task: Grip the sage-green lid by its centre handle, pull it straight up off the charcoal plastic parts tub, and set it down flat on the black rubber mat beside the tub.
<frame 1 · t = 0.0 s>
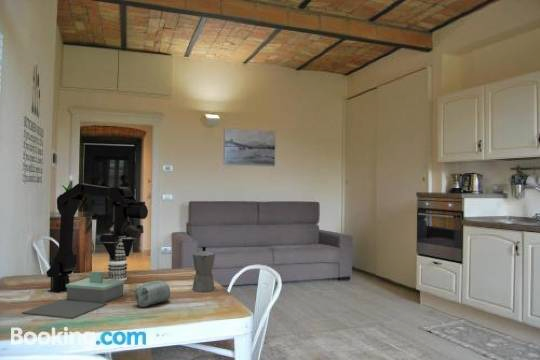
hand: (120, 258, 162), 15 cm above the table, fingers open, 9 cm apart
tub: (95, 298, 157), on the table
decorative candle: (117, 279, 191), on the table
coffeepot: (203, 289, 174), on the table
mat: (65, 309, 142), on the table
lid: (95, 285, 157), point 5 cm above the table, touching tub
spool: (152, 304, 150), on the table
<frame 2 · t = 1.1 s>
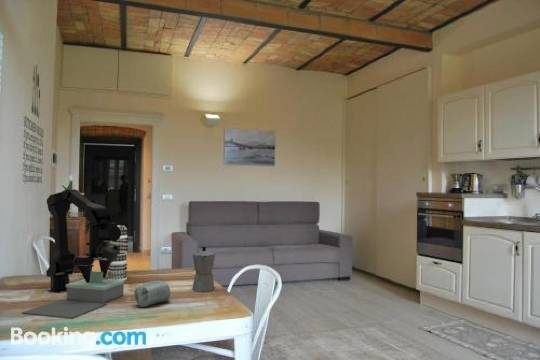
hand: (95, 280, 157), 7 cm above the table, fingers open, 9 cm apart
nothing on the table moved.
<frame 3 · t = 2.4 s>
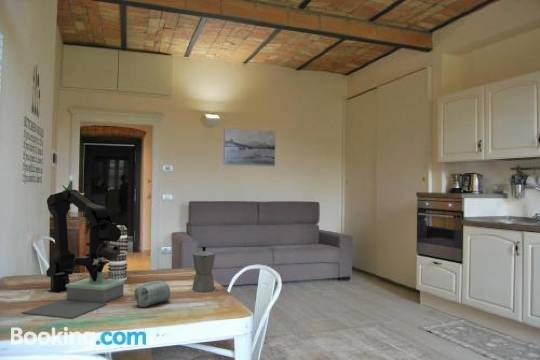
hand: (96, 280, 157), 7 cm above the table, fingers closed on lid
lid: (95, 285, 157), point 5 cm above the table, touching gripper, tub
everything else where it was.
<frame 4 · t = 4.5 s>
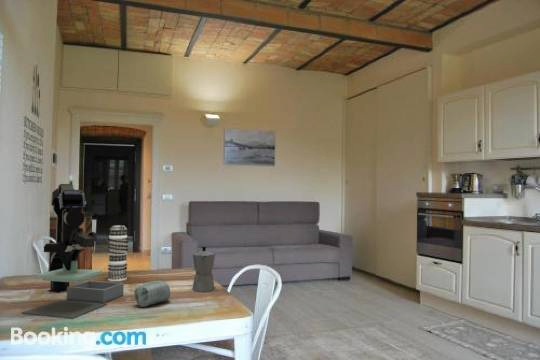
hand: (69, 270, 144), 13 cm above the table, fingers closed on lid
lid: (70, 275, 143), point 11 cm above the table, touching gripper
everything else where it was.
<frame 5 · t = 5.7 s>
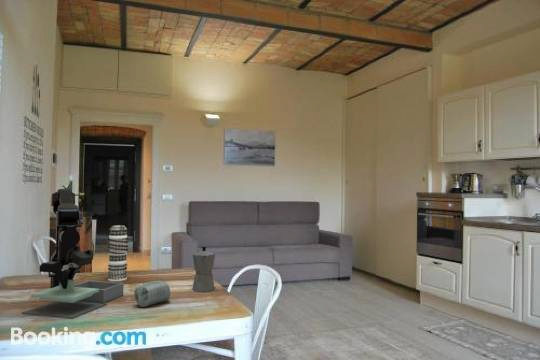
hand: (66, 288, 142), 7 cm above the table, fingers closed on lid
lid: (66, 294, 142), point 5 cm above the table, touching gripper
everything else where it was.
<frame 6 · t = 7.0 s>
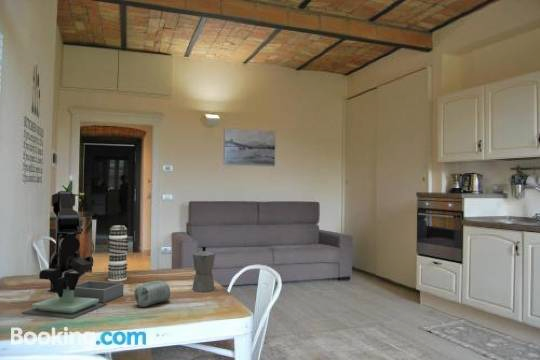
hand: (66, 295, 142), 5 cm above the table, fingers open, 5 cm apart
lid: (66, 304, 142), point 2 cm above the table, touching mat
everything else where it was.
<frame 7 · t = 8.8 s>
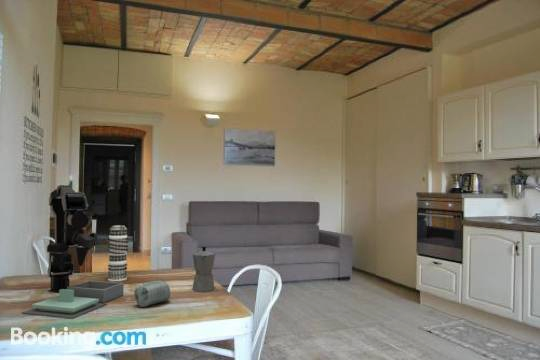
hand: (71, 268, 151), 12 cm above the table, fingers open, 9 cm apart
nothing on the table moved.
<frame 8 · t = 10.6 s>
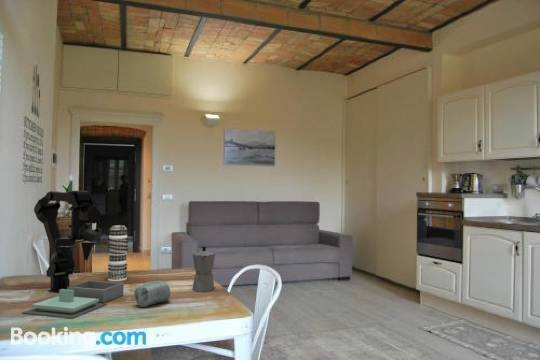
hand: (78, 261, 162), 13 cm above the table, fingers open, 9 cm apart
nothing on the table moved.
at the end: lid inside the target area on the mat (0.0 cm from its centre), point 1.6 cm above the mat's base; lid tilted 0°; the gripper is holding nothing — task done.
